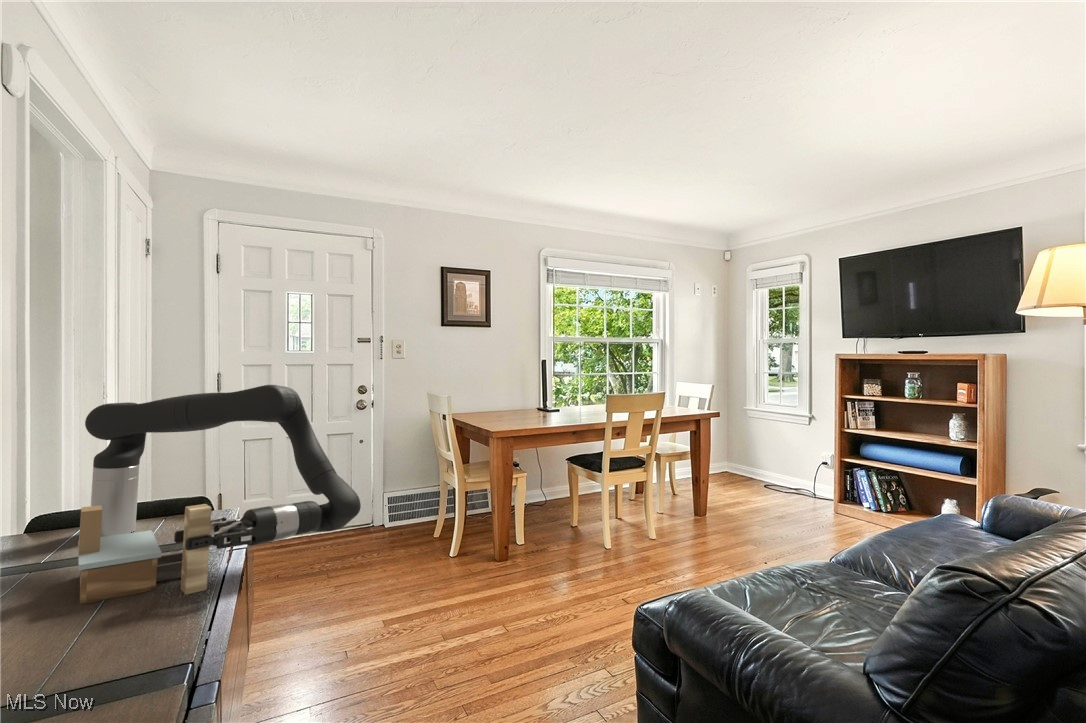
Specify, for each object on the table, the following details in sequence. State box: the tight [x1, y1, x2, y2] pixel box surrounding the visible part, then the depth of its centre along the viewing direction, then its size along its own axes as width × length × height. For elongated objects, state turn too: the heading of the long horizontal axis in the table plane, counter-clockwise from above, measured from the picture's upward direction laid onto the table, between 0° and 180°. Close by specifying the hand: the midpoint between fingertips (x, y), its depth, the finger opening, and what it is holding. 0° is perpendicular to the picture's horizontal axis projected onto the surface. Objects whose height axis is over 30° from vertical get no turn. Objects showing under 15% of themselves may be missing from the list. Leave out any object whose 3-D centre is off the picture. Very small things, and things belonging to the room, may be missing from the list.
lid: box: [77, 505, 162, 572], centre depth 104 cm, size 17×12×9 cm
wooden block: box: [180, 503, 212, 595], centre depth 102 cm, size 4×4×16 cm
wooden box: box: [78, 551, 183, 605], centre depth 106 cm, size 16×18×6 cm
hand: (180, 540), depth 100 cm, fingers open, 5 cm apart
